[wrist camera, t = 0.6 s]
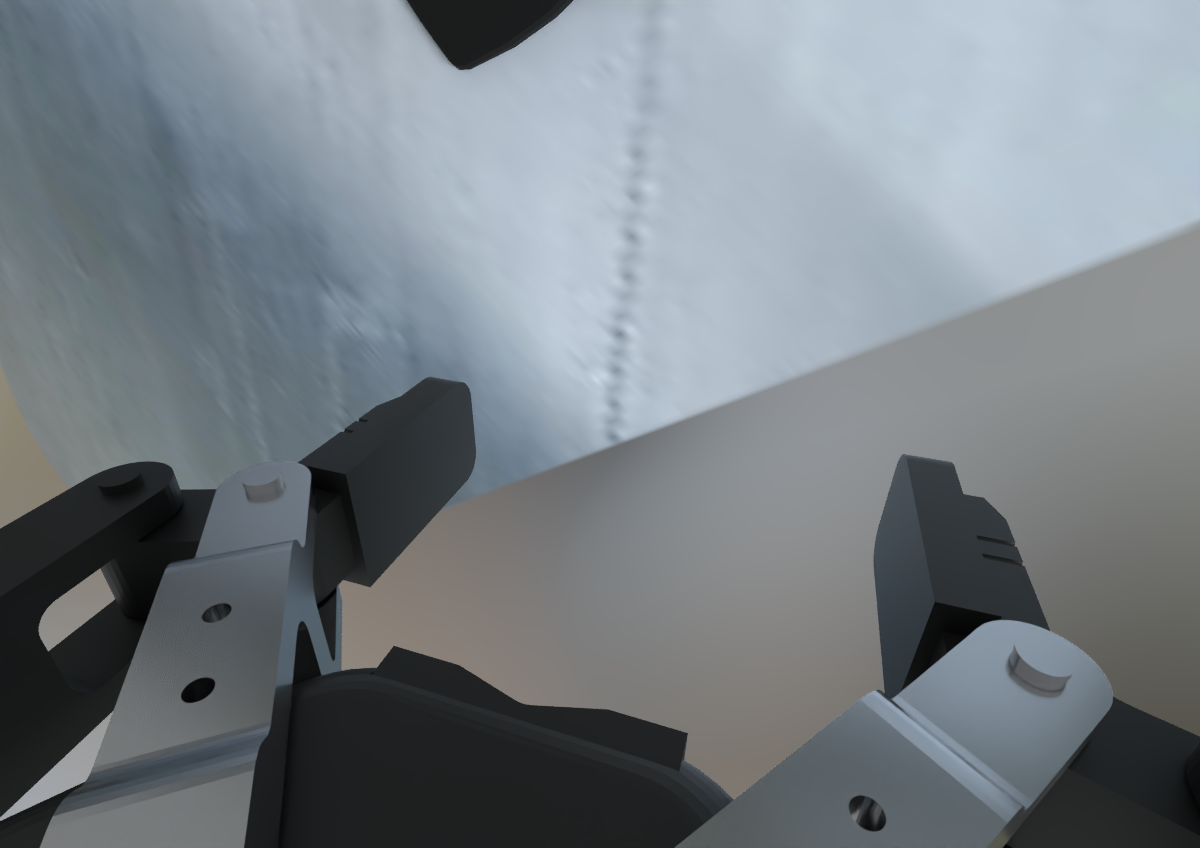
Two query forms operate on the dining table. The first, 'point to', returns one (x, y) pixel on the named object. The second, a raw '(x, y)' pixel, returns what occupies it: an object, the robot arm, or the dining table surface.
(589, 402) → the dining table surface
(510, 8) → the light switch
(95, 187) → the dining table surface
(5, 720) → the robot arm
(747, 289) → the dining table surface
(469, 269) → the dining table surface
